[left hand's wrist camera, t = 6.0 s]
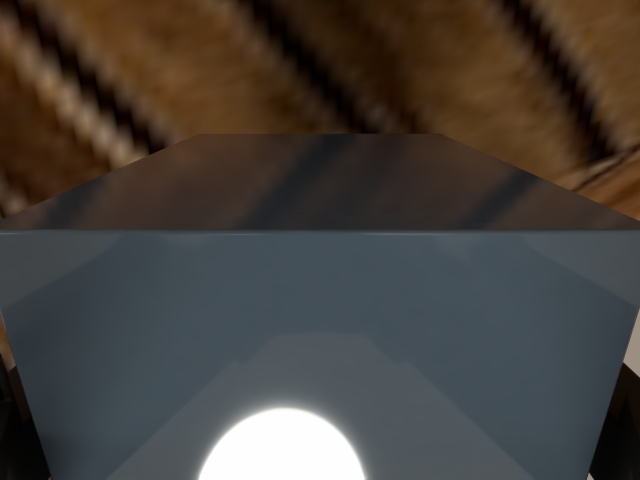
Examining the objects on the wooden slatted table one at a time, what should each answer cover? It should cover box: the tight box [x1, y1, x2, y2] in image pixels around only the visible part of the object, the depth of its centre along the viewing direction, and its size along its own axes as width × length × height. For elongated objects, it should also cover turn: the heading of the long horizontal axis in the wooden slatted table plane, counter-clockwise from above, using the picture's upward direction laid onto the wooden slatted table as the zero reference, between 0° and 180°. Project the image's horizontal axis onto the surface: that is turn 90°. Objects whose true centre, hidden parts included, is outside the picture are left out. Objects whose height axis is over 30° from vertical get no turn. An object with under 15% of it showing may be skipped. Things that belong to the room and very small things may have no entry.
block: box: [0, 134, 640, 480], centre depth 11 cm, size 8×9×10 cm
